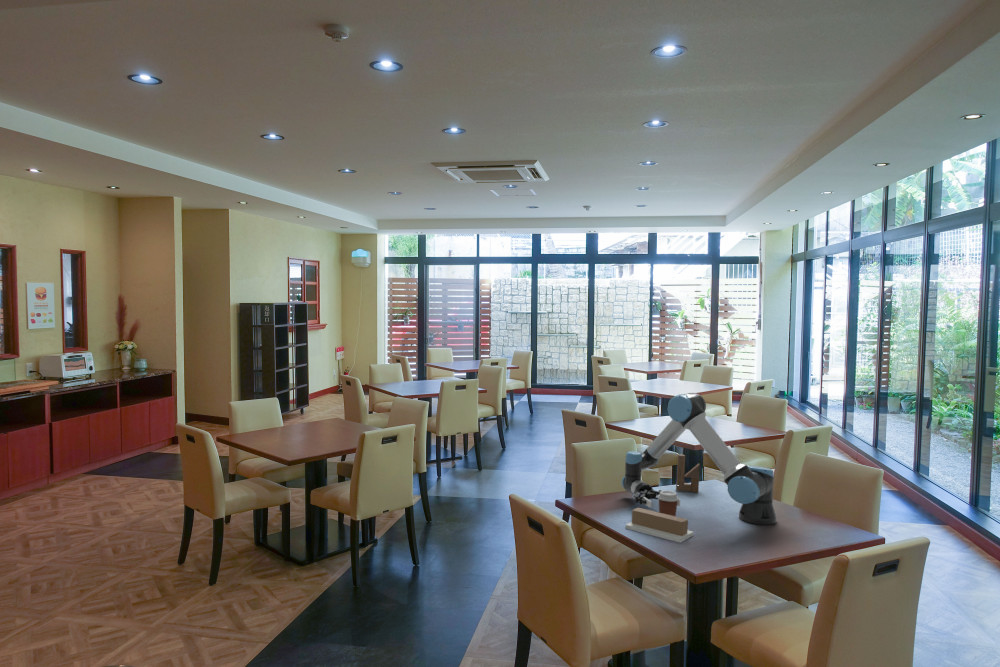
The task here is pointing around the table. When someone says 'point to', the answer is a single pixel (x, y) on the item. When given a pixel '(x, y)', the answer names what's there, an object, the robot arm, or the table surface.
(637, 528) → the stand
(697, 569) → the table surface
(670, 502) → the coffee cup
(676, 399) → the robot arm
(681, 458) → the brown wooden angular stand
